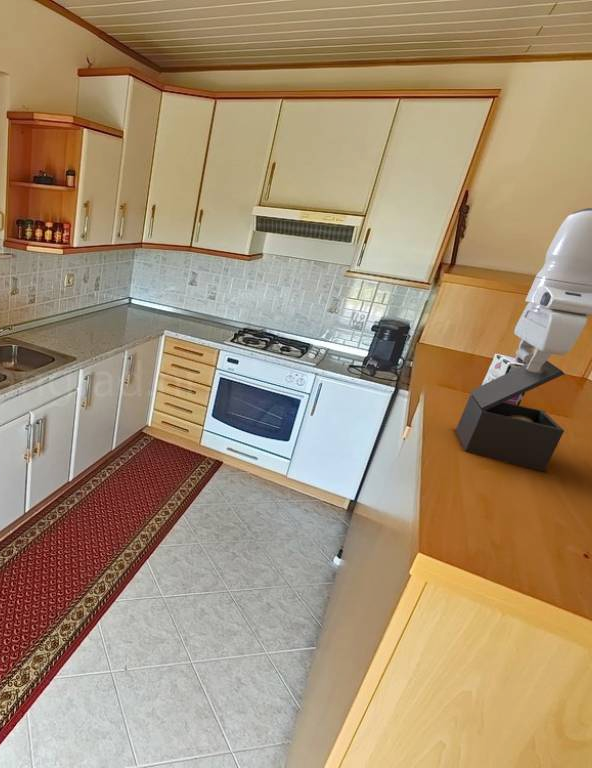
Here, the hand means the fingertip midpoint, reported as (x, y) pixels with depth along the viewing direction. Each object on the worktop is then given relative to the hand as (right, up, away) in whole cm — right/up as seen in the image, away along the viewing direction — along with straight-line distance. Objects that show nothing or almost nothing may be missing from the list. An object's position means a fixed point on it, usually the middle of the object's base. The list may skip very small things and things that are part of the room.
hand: (525, 366), depth 96 cm
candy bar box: (+8, -14, +19) cm, 24 cm away
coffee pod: (+2, -15, +4) cm, 16 cm away
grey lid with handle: (-1, -4, +2) cm, 4 cm away
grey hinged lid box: (-1, -17, +6) cm, 18 cm away
